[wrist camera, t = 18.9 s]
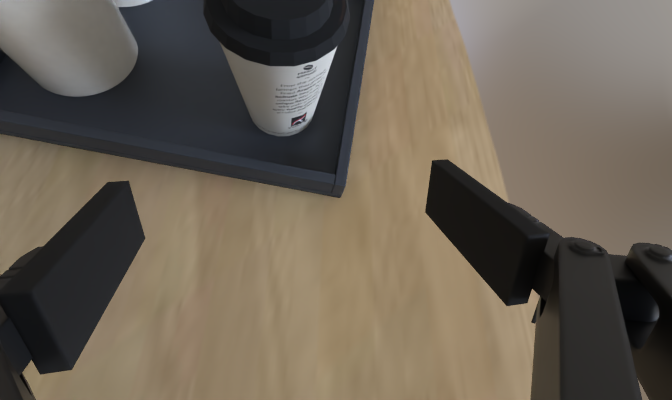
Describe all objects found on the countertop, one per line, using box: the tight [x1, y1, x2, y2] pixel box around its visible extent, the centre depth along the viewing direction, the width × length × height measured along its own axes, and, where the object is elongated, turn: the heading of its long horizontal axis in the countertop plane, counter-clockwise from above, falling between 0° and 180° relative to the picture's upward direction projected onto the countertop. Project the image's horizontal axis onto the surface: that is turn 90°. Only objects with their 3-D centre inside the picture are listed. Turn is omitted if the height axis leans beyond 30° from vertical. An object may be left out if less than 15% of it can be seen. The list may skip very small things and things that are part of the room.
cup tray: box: [0, 0, 374, 198], centre depth 25 cm, size 24×19×2 cm
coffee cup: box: [203, 0, 350, 136], centre depth 20 cm, size 7×7×10 cm
